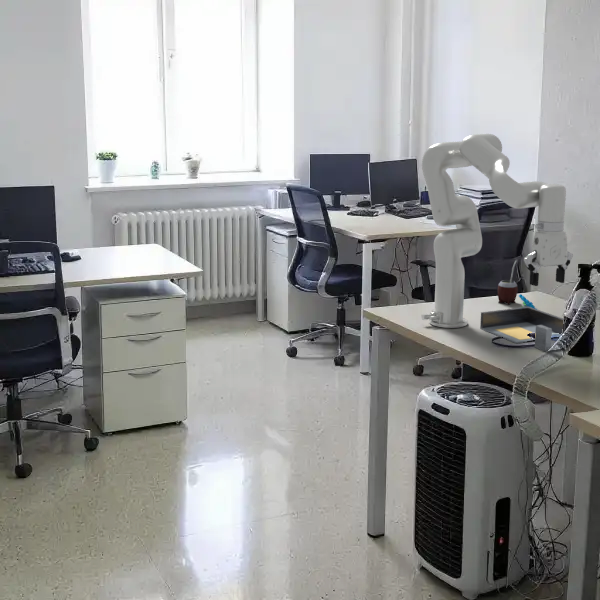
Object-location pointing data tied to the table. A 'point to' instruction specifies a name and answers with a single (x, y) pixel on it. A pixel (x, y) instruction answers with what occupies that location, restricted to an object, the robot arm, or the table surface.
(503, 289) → the mate gourd
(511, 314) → the tray
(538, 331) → the bracket
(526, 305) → the blue toy cog wheel
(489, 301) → the table surface
